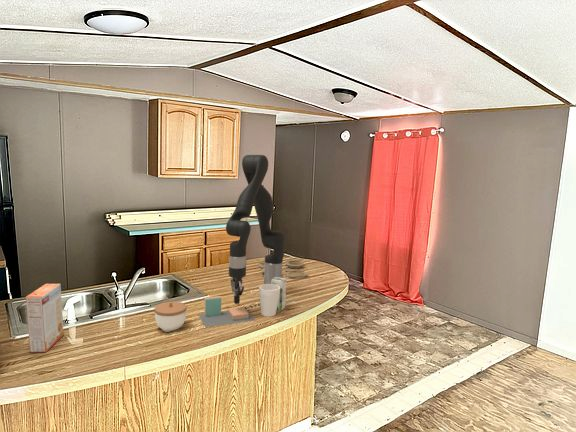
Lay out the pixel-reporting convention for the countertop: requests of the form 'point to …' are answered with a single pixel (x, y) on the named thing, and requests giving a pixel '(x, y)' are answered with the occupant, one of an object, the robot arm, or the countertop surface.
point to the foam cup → (269, 299)
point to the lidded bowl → (170, 315)
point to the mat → (221, 319)
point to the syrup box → (282, 295)
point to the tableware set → (292, 264)
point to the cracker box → (44, 317)
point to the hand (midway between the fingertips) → (236, 303)
